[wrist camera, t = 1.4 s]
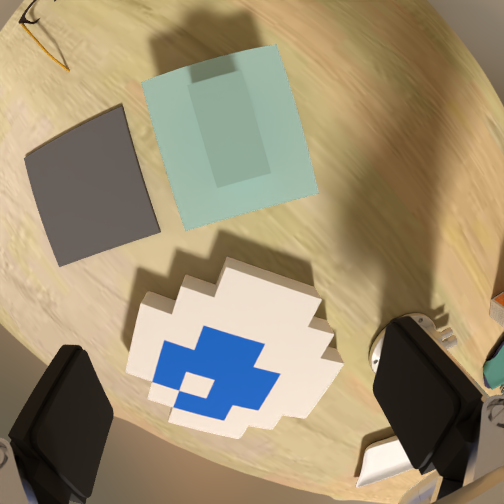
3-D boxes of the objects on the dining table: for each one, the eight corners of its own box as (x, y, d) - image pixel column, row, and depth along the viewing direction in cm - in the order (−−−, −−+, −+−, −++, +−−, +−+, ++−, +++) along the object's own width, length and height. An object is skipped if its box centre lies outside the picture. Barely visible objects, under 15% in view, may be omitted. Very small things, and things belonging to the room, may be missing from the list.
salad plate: (352, 480, 58) (355, 489, 55) (361, 439, 51) (366, 450, 48) (422, 455, 58) (426, 463, 55) (443, 408, 51) (449, 418, 48)
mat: (123, 106, 30) (121, 106, 30) (160, 231, 35) (159, 232, 35) (26, 158, 31) (24, 158, 30) (61, 265, 36) (59, 267, 35)
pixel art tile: (283, 445, 44) (119, 405, 39) (280, 429, 48) (125, 389, 43) (373, 316, 36) (157, 242, 32) (362, 302, 40) (165, 233, 36)
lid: (274, 47, 23) (285, 22, 18) (316, 192, 28) (336, 201, 22) (144, 84, 24) (122, 68, 18) (186, 228, 28) (175, 247, 22)
